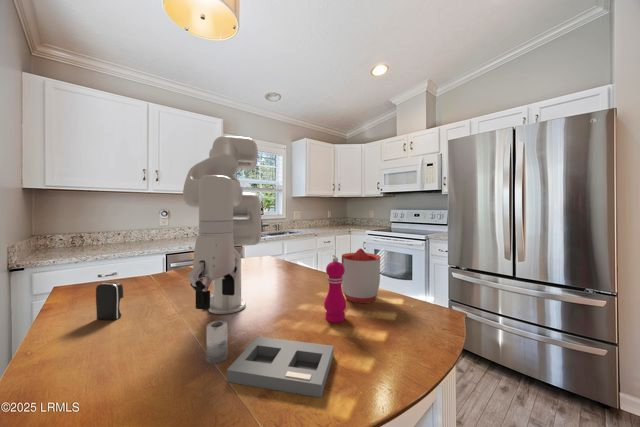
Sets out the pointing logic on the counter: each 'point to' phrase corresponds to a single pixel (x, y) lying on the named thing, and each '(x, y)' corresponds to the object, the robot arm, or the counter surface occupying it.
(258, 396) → the counter surface
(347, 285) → the citrus juicer
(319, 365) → the block
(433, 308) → the counter surface
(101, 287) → the battery charger
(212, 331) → the bushing
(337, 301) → the pepper mill
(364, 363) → the counter surface
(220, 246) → the robot arm
